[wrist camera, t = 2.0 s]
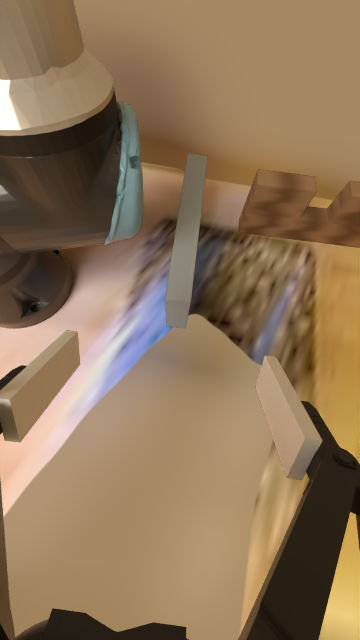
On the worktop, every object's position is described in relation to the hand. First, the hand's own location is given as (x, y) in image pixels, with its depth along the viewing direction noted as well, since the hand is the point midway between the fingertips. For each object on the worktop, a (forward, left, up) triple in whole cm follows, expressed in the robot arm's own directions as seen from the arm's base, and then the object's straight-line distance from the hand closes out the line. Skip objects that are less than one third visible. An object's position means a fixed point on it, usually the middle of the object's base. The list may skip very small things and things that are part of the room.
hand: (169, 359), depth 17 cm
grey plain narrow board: (0, +20, -18) cm, 27 cm away
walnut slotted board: (+20, +29, -18) cm, 40 cm away
